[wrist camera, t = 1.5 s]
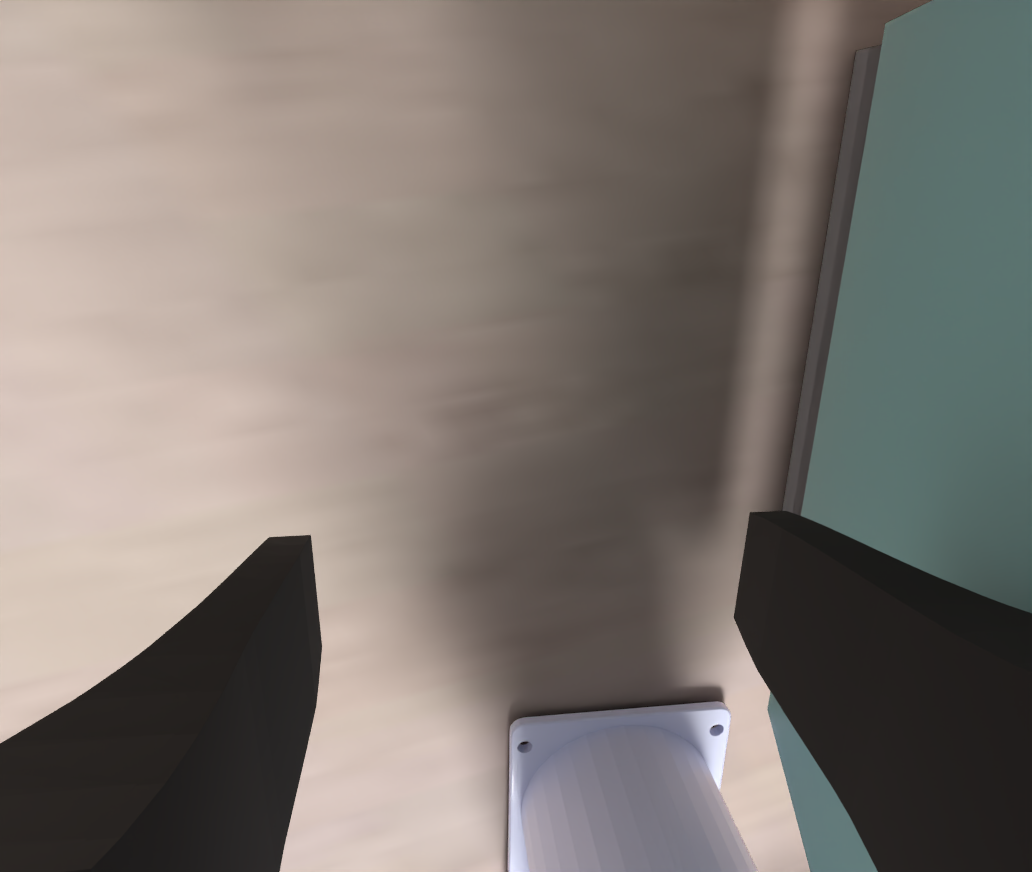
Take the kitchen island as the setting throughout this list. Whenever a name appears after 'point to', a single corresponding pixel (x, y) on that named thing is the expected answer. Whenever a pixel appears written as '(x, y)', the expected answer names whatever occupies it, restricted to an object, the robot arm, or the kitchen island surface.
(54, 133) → the kitchen island surface
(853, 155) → the cable duct
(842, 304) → the panel
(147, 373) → the kitchen island surface
